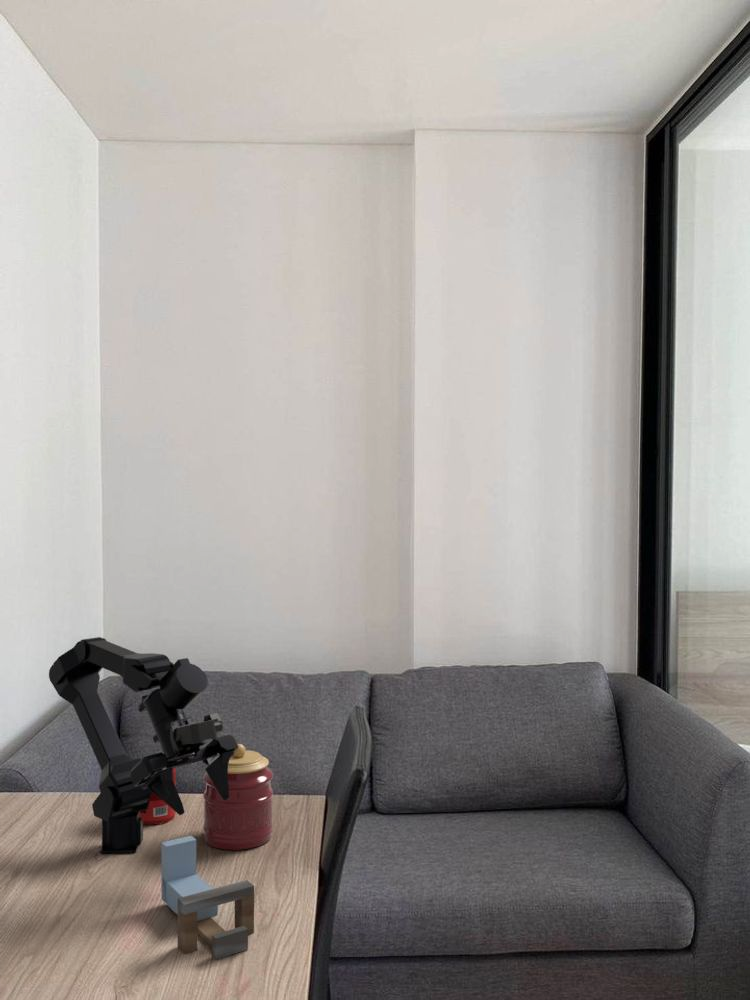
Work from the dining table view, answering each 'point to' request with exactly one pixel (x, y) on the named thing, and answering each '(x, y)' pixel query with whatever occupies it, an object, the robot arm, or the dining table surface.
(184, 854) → the light blue l-shaped block
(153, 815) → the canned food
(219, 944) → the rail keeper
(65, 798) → the dining table surface
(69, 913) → the dining table surface
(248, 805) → the canister
